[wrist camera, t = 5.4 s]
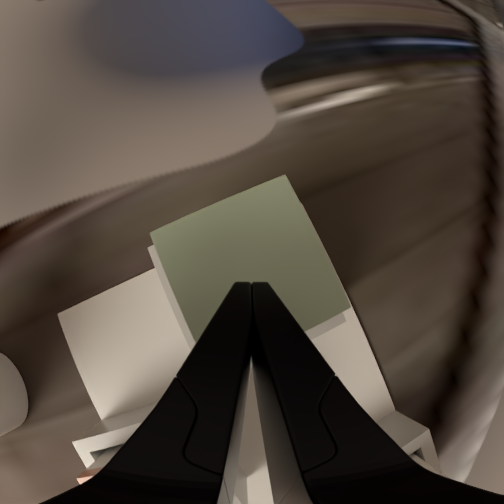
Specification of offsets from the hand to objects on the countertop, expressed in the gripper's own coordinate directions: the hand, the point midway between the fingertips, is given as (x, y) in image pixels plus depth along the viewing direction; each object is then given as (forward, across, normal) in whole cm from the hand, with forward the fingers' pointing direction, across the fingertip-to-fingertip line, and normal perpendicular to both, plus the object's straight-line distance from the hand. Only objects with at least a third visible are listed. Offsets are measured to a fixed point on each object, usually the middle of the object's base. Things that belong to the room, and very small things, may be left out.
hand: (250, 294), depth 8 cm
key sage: (+6, 0, +5) cm, 7 cm away
